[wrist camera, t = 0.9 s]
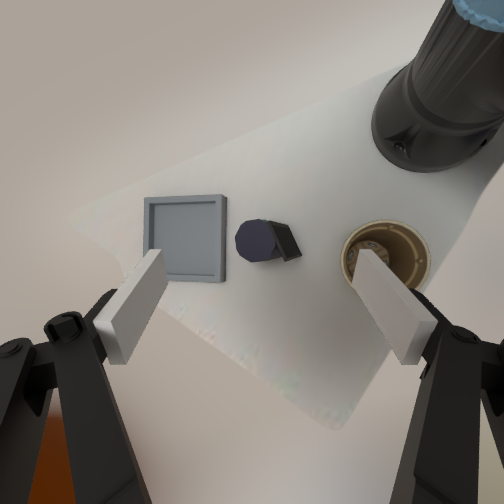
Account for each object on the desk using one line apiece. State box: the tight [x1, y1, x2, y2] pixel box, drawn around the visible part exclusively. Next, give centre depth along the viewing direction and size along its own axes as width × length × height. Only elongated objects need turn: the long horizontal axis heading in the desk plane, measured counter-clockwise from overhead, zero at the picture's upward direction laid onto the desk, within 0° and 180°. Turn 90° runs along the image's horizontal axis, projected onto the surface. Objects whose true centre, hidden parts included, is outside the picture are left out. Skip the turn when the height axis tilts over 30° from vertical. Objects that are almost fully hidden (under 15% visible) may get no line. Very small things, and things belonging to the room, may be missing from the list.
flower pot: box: [341, 220, 431, 292], centre depth 32 cm, size 9×9×9 cm
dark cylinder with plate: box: [235, 219, 302, 262], centre depth 35 cm, size 8×6×10 cm
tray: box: [143, 194, 227, 283], centre depth 42 cm, size 14×14×2 cm
